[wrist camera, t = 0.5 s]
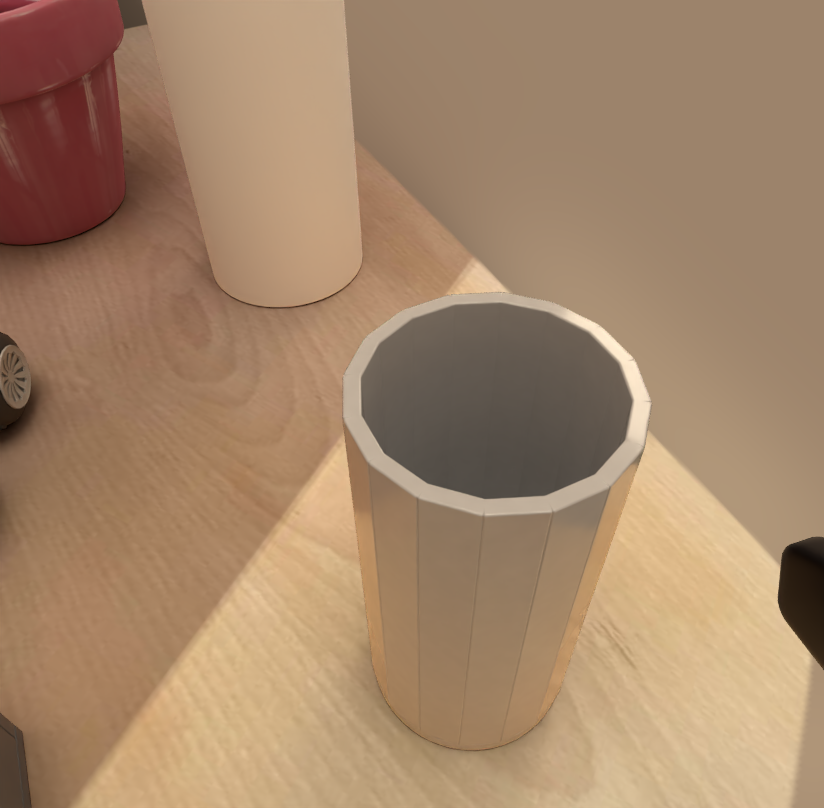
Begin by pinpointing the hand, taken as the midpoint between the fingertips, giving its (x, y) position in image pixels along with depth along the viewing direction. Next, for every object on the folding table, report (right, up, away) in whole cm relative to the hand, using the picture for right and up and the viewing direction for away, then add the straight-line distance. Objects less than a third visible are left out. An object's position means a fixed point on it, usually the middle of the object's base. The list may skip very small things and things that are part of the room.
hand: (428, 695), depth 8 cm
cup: (-7, +11, +33) cm, 35 cm away
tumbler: (+2, -5, +17) cm, 18 cm away
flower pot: (-22, +15, +37) cm, 46 cm away
